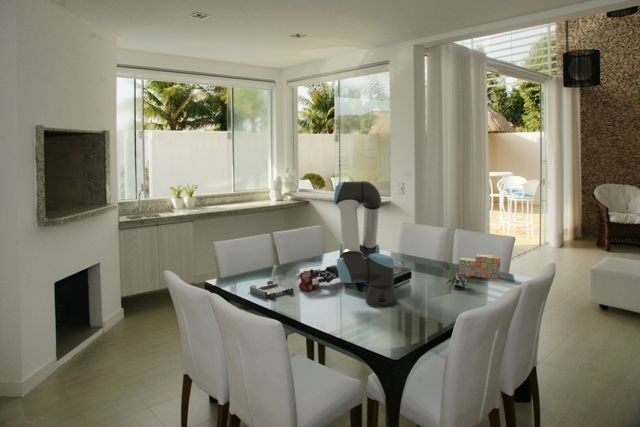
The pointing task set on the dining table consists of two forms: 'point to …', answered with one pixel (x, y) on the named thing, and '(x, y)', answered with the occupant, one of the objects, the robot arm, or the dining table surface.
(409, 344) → the dining table surface
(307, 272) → the red plastic toy vehicle
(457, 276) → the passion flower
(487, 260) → the stack of blocks
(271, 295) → the chassis bay
